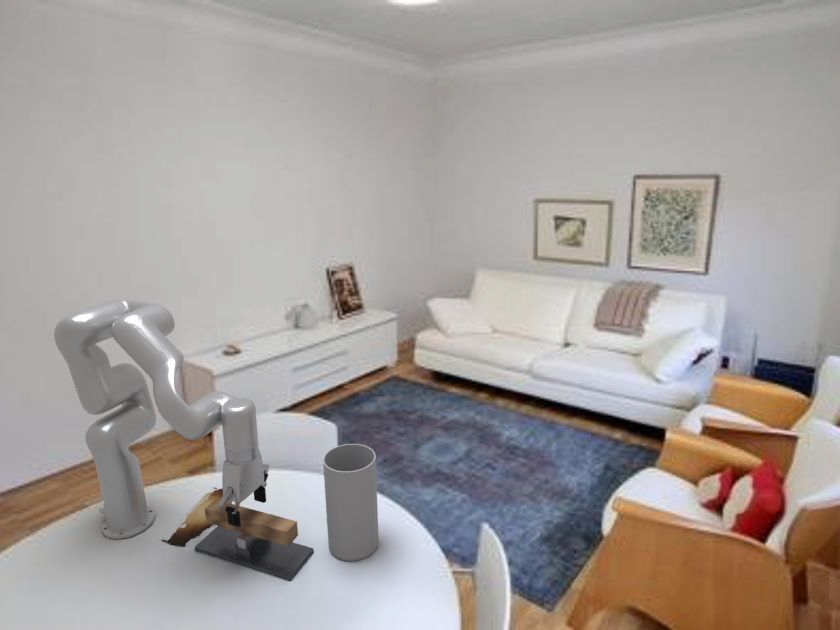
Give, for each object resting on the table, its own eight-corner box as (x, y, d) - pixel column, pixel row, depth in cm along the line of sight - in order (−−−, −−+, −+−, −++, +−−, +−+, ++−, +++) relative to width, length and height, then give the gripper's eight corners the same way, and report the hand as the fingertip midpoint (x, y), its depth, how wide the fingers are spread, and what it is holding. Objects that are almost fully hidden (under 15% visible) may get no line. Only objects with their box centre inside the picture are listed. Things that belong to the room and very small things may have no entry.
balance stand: (194, 550, 135) (191, 528, 133) (222, 525, 144) (219, 504, 142) (290, 581, 125) (288, 557, 123) (313, 552, 134) (311, 529, 132)
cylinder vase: (347, 570, 128) (342, 478, 121) (319, 543, 137) (313, 456, 130) (388, 545, 136) (386, 458, 129) (359, 521, 145) (356, 438, 138)
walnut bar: (206, 522, 135) (204, 508, 134) (217, 512, 138) (215, 499, 137) (288, 546, 126) (287, 531, 125) (298, 535, 130) (296, 521, 129)
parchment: (213, 487, 161) (212, 484, 160) (243, 490, 159) (242, 487, 158) (158, 545, 138) (157, 542, 137) (192, 549, 136) (192, 546, 135)
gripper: (252, 430, 135) (257, 489, 140) (202, 466, 120) (210, 531, 125) (277, 436, 133) (281, 495, 138) (230, 473, 117) (237, 539, 122)
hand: (247, 512), depth 131 cm, fingers open, 9 cm apart
